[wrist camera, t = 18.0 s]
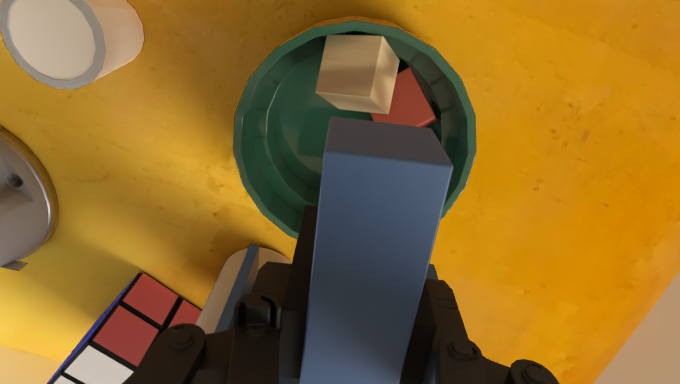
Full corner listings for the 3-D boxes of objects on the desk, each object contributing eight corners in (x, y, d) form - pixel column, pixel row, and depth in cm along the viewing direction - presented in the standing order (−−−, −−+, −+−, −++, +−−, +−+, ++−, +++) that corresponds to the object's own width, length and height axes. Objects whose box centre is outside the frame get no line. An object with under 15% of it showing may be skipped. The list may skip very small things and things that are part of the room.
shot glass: (108, 88, 35) (55, 108, 29) (46, 12, 33) (-26, 17, 27) (169, 44, 34) (127, 56, 27) (109, -39, 31) (47, -47, 25)
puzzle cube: (142, 268, 43) (86, 341, 34) (220, 320, 46) (187, 400, 37) (95, 321, 47) (33, 399, 38) (170, 367, 50) (130, 450, 41)
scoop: (474, 538, 16) (638, 187, 10) (171, 510, 16) (132, 127, 9) (422, 308, 28) (481, 80, 21) (248, 289, 28) (254, 52, 21)
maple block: (370, 97, 26) (383, 35, 26) (314, 92, 28) (326, 33, 28) (388, 114, 30) (400, 60, 30) (338, 109, 31) (349, 57, 32)
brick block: (438, 120, 33) (435, 116, 29) (393, 144, 34) (384, 143, 31) (415, 76, 33) (409, 66, 30) (372, 101, 35) (360, 94, 31)
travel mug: (254, 318, 46) (199, 496, 30) (206, 267, 43) (118, 432, 27) (313, 287, 44) (290, 461, 28) (268, 232, 41) (212, 388, 25)
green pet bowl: (226, 163, 38) (201, 197, 32) (305, -27, 31) (292, -32, 25) (390, 238, 41) (397, 283, 35) (495, 79, 34) (527, 99, 28)
